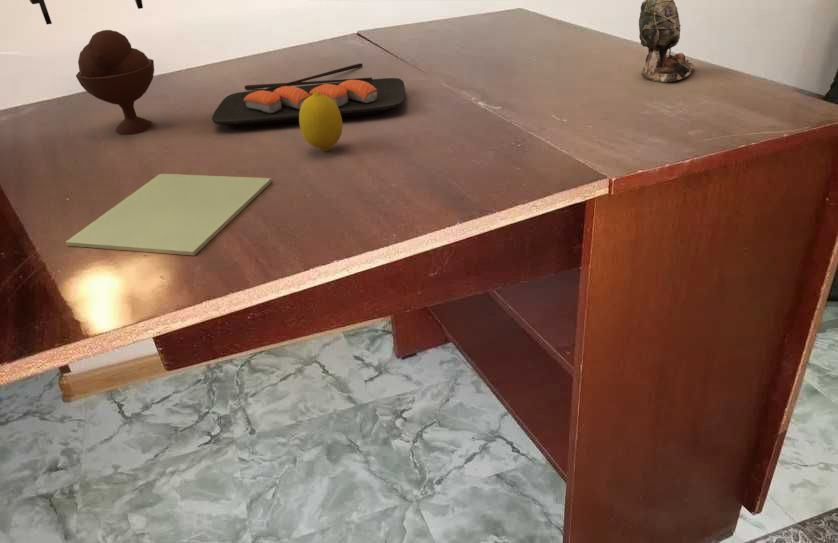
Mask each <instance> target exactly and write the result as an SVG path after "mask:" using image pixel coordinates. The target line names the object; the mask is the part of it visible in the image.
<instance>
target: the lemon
mask: <svg viewBox="0 0 838 543" xmlns="http://www.w3.org/2000/svg"><path fill="white" fill-rule="evenodd" d="M298 124H299V128H300V133H301V134H302V137H303V138H304V140H305V141H306V142H307V144H309V145H311V147H314V148H317V149H320V150H321V151H323V152H328V151H329V149H330V148H331V147H333V146H334V145H336V144H337V142H339V140H340V138H341V137H342V136H341V135H342V134H343V133H342V132H343V117H341V114H340V111H339V108H338V106H337V104H336V103H335V102H334V101H333V100H332V99H331V98H330V97H328V96H326V95H323V94H320V93H319V92H314V93H313V94H312V95H311V96H310V97H308V98H307V99H306V100H305V101H304V102H303V103H302V105H301V108H300V112H299V121H298Z"/></svg>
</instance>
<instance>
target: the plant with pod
mask: <svg viewBox="0 0 838 543" xmlns="http://www.w3.org/2000/svg"><path fill="white" fill-rule="evenodd" d="M681 27H682V26H681V23H680V16H679V12H678V7H677V6H676V2H675V0H644V1H642V2H641V5H640V13H639V18H638V31H639V34H638V35H639V40H640V44H641V46H642V47H647V51H648V54H647V55H646V58H645V67H642V71H641V73H640V75H641V76H642V77H643V78H644V79H647V80H649V81H652V82H655V81H656V82H657V83H658V82H660V83H661V82H663V83H668V82H669V83H671V82H676V81H680V80H682V79H684V78H686V77H688V76H690V75H691V73H692V71H693V70H695V65H694V64H693V63H692V62H689V61H690V60H689V59H687V60H686V54H684V53H683V52H679V53H676V54H674V55H673V54H672V53H671V52H672V49H673V48H674V47H676V46H677V45H678V43H679V42H680V39H681ZM668 51H669V53H668V54H667V52H668ZM653 53H654V56H655V57H656V61H655V64H651V65H650V62H651V59H652V57H653Z"/></svg>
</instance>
